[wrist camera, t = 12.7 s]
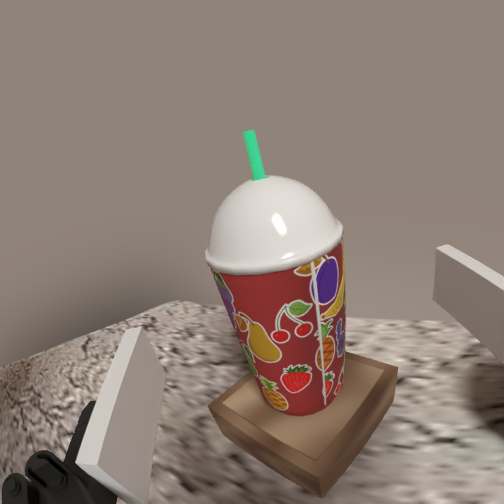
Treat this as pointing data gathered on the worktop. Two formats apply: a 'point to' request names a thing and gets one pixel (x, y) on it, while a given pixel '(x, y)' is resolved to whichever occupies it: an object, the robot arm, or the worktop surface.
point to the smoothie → (283, 286)
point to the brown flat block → (309, 424)
